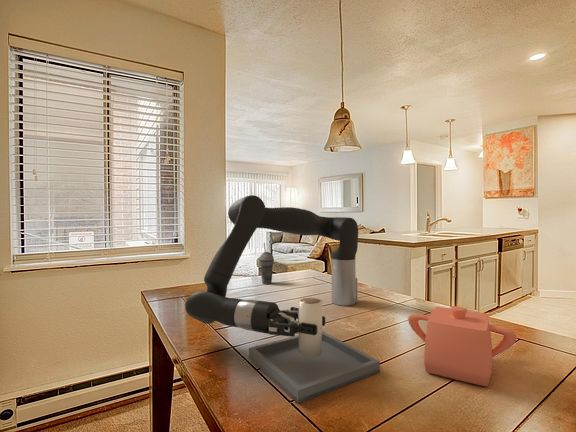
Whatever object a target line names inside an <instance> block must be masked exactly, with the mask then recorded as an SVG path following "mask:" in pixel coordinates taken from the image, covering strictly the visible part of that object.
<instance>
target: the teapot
mask: <svg viewBox="0 0 576 432" xmlns="http://www.w3.org/2000/svg"><path fill="white" fill-rule="evenodd" d="M407 320H408V321H407V322H408V324H409V326H410V328H411V329H412V331H414V333H415V334H416V335H417V337H419V338H420V339H421V340H422V341H423V342H424V352H423V354H424V356H423V357H424V358H423V360H424V368H425V371H426V373H429V374H433V375H437V376H439V377H443V378H448V379H452V380H457V381H460V382H464V383H468V384H474V385H477V386H481V387H488V386H489V385H490V381H491V376H492V371H493V360H494V357H497V356H498V355H501V354H502V353H504V352H505V351H507V350H508V349H510V348H511V347H513V345H514V344H515V343H516V342H517V339H518V336H517V333H516V332H514V331H513V330H512V329H509V328H507V327H502V326H499V325H492V324H490V320H489V315H488V314H487V313H485V312H480V311H479V312H477V311H473V310H468V309H467V308H464V307H463V306H458V305H457V306H456V305H455V306H450V307H444V306H435V307H434V308H433V309H432V310H431V312H430V314H429V315H428V314H421V313H414V314H410V315H409V316H408V317H407ZM419 321H427V323H426V329H425V330H426V331H425V332H424V331H423V329H422V328H421V327H420V324H419ZM491 332H494V333H499V334H501V335H502V336H503V338H502V340H500V343H499V344H497V345H496V346H495V347H494V348H493V343H492V334H491Z"/></svg>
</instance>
